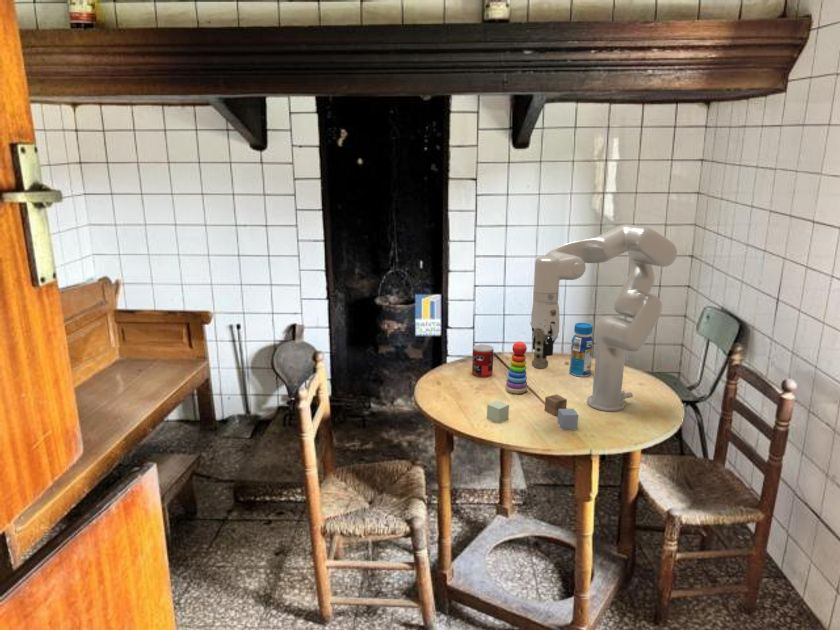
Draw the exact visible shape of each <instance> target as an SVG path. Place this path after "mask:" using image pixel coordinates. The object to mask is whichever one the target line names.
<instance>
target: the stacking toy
mask: <svg viewBox="0 0 840 630" xmlns="http://www.w3.org/2000/svg"><path fill="white" fill-rule="evenodd" d="M527 348H528V347H527V345H526V343H525V342H523V341H516V342H514V343H513V345H512V349H511V350H512V352H513V354H511V360H510V365H509V370H508V372H507V373H508V375H507V377H506V378H507V379H506V381H505V382H506V384H505V387H504V388H505V390H506V392H509V393H511V394H516V395H519V394H520V395H521V394H524V393H525V392H527V390H528V386H527V385H528V383H527V366H526V365H527V361H526V358H527V357H526V355H525V354H526V353H527V351H528V350H527Z"/></svg>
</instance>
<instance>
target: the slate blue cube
mask: <svg viewBox="0 0 840 630" xmlns="http://www.w3.org/2000/svg"><path fill="white" fill-rule="evenodd" d="M578 422H579V414H578V412H577V411H576V410H575V408H566V409H559V410H558V415H557V424H558V425H560V426H559V427H560V429H561V428H562V429H567V430H578V427H579V426H578V425H579V423H578ZM562 429H561V430H562Z"/></svg>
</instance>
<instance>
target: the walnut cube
mask: <svg viewBox="0 0 840 630" xmlns="http://www.w3.org/2000/svg"><path fill="white" fill-rule="evenodd" d="M567 401H568V399H567V398H565V397H563V396H561V395H559V394H552V395H549V396H545V400H544V411H545V412H547V413H548V414H550V415H552V416H558V410H559V409H567V403H568V402H567Z"/></svg>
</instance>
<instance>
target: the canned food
mask: <svg viewBox="0 0 840 630" xmlns="http://www.w3.org/2000/svg"><path fill="white" fill-rule="evenodd" d="M471 363H472V365H471V367H472V368H471V369H472V371H471V373H472V375H473V376H475V377H478V378H488V377H491V376H492V374H493V373H494V372H493V371H494V370H493V368H494V346H492V345H490V344H476V345H474V346H473V347H472V362H471Z"/></svg>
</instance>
